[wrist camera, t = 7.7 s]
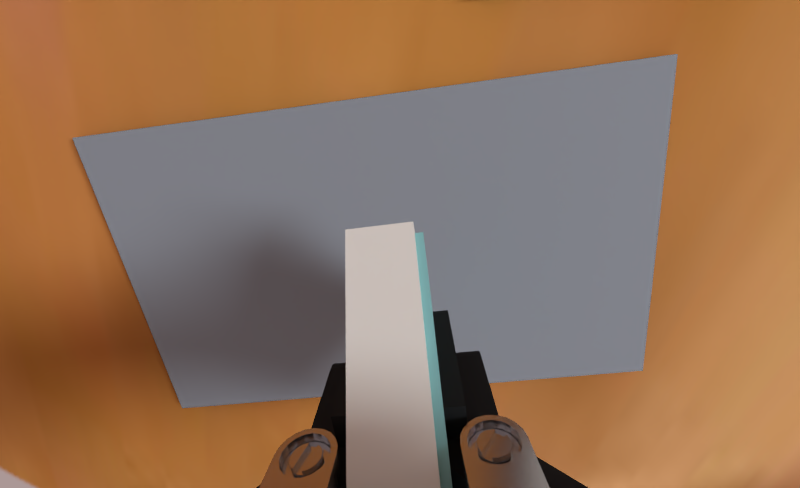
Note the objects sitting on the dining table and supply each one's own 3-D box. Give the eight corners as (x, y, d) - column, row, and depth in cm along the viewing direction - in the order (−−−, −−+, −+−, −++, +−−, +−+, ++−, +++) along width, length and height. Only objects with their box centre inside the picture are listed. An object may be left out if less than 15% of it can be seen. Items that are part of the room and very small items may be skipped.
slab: (344, 229, 9) (346, 556, 6) (421, 220, 9) (459, 549, 6) (388, 313, 15) (398, 491, 12) (432, 308, 15) (453, 487, 12)
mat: (81, 137, 14) (72, 138, 14) (670, 55, 13) (677, 54, 12) (186, 402, 19) (182, 408, 18) (637, 364, 17) (642, 370, 17)
